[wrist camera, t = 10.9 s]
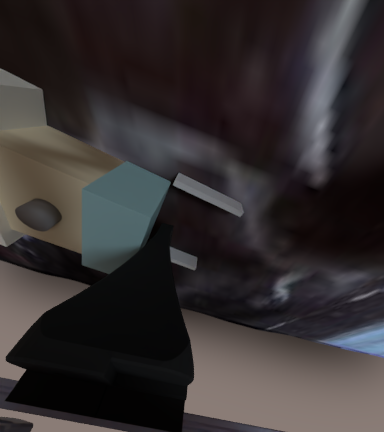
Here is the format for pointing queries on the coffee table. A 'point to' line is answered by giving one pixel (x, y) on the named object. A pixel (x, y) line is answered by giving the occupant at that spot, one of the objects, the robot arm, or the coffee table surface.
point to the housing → (48, 182)
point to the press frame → (35, 117)
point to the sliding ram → (119, 215)
